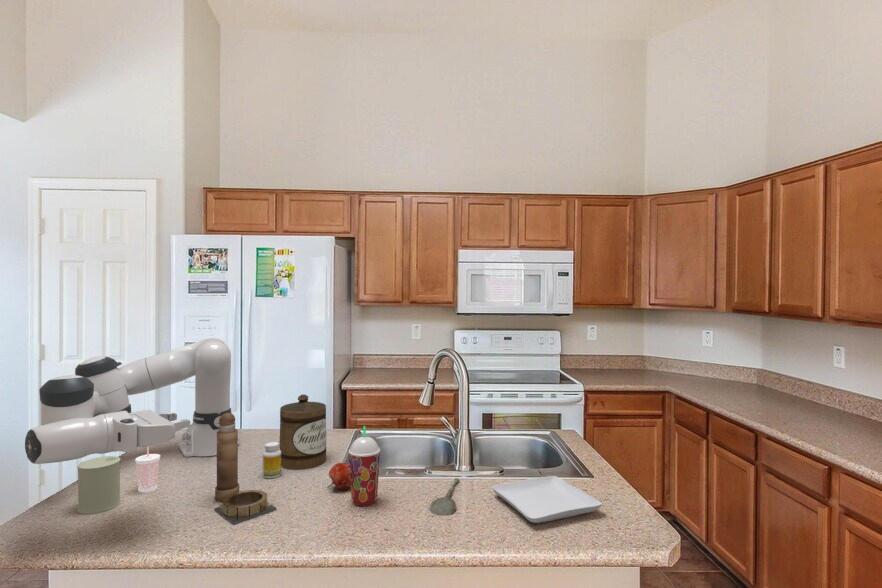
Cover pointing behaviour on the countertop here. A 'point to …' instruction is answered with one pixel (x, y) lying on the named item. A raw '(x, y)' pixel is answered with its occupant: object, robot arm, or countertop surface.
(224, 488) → the pepper mill
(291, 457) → the wooden container
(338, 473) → the pomegranate
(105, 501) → the can
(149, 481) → the beverage cup
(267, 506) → the collar socket
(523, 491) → the salad plate
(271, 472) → the supplement bottle
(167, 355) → the robot arm
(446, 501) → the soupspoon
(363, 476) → the smoothie
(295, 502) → the countertop surface
